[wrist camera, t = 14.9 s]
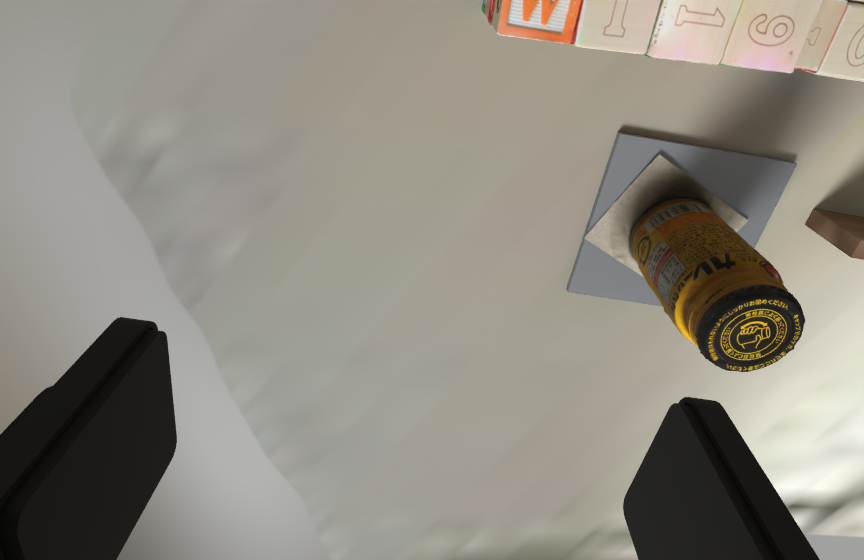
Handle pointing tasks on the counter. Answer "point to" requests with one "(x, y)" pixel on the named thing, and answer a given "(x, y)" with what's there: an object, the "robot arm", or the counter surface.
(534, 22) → the stack of blocks
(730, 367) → the condiment
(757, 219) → the mat
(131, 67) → the counter surface
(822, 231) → the brown angular block
